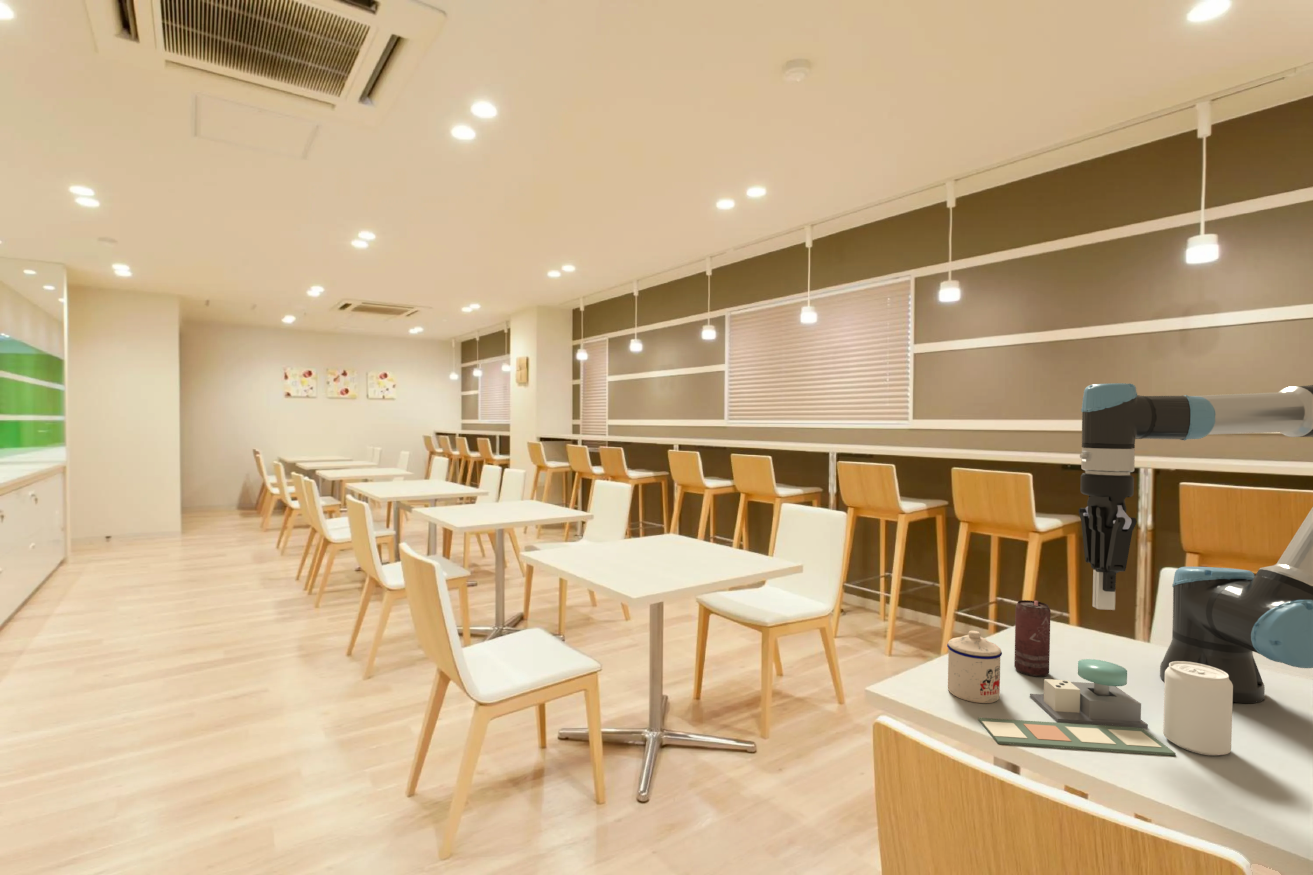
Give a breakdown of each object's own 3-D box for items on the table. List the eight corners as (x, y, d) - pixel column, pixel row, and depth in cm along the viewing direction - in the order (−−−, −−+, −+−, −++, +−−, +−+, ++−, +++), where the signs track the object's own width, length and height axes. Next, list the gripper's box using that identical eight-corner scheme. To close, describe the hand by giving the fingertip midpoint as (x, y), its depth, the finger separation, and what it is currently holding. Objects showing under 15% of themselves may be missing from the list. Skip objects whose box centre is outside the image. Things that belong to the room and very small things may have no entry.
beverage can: (1216, 763, 93) (1218, 683, 93) (1152, 739, 101) (1154, 664, 100) (1240, 751, 97) (1243, 674, 97) (1178, 728, 104) (1180, 656, 104)
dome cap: (1111, 687, 113) (1111, 660, 113) (1135, 704, 106) (1136, 675, 106) (1069, 685, 114) (1070, 657, 114) (1091, 702, 107) (1091, 673, 107)
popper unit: (1111, 701, 114) (1112, 675, 114) (1147, 727, 104) (1148, 699, 104) (1029, 696, 116) (1030, 671, 116) (1057, 722, 106) (1058, 694, 106)
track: (1141, 730, 103) (1141, 727, 103) (1175, 755, 96) (1175, 752, 96) (978, 719, 107) (978, 716, 107) (997, 743, 99) (998, 740, 99)
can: (1049, 669, 129) (1050, 601, 129) (1048, 679, 124) (1050, 609, 124) (1015, 663, 132) (1016, 597, 132) (1013, 673, 127) (1015, 604, 127)
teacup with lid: (989, 709, 111) (990, 643, 110) (937, 692, 117) (939, 630, 117) (1014, 690, 119) (1015, 629, 118) (964, 675, 125) (965, 618, 125)
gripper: (1063, 469, 116) (1060, 596, 116) (1105, 475, 103) (1102, 618, 103) (1107, 470, 115) (1104, 598, 116) (1155, 476, 102) (1152, 620, 102)
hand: (1103, 607), depth 109 cm, fingers closed
